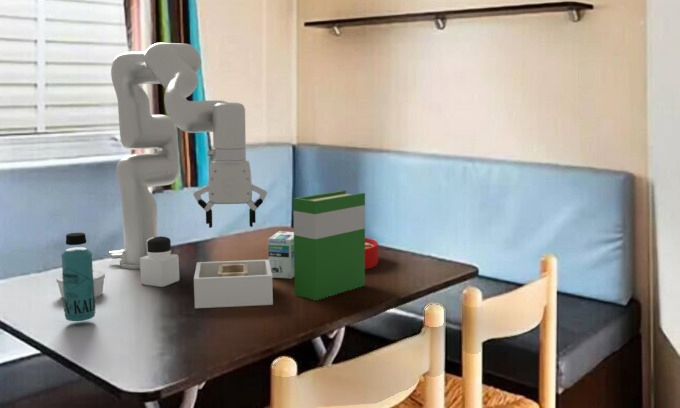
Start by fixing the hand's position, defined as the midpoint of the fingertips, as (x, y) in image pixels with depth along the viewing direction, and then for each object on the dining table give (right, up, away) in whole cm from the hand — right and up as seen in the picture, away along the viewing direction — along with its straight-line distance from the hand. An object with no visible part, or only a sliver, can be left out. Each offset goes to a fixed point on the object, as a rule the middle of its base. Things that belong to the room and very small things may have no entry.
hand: (230, 226), depth 176 cm
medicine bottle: (-21, -15, +15) cm, 30 cm away
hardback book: (+24, -17, +8) cm, 30 cm away
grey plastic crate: (0, -17, +3) cm, 17 cm away
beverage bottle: (-30, -21, -17) cm, 40 cm away
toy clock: (+27, -12, +36) cm, 47 cm away
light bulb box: (+11, -14, +24) cm, 30 cm away
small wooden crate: (0, -16, +2) cm, 16 cm away
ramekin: (-37, -18, +4) cm, 41 cm away
